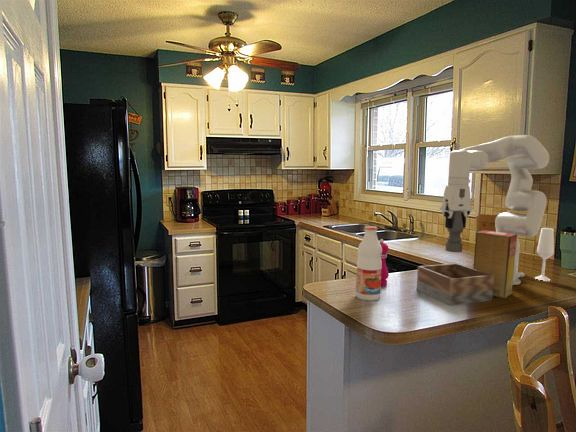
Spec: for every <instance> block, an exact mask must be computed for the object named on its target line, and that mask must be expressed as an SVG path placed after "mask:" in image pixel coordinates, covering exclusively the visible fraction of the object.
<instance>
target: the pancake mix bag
mask: <svg viewBox="0 0 576 432" xmlns="http://www.w3.org/2000/svg"><path fill="white" fill-rule="evenodd" d="M498 215H499V214H485V213H483V214H482V213H480V214H478V215H476V216H475V235H476V233H477V232H479V231H484V230H485V231H493V232H496V227H495V220H496V217H497V216H498Z"/></svg>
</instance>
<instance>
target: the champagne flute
mask: <svg viewBox="0 0 576 432" xmlns="http://www.w3.org/2000/svg"><path fill="white" fill-rule="evenodd" d="M540 228H541V229H540V234H539V238H538V244H537V247H536V253H537V254H538V256H539V257H540V258H541V259H542V265H541V274H540V275H537V276H535V277H534V278H535V279H534V280H536V279H538V280H537V281H540V280H543V281H542V282H551V281H550V280H551V279H550V278H548V276H546V275H545V274H546V273H545V272H546V262H547V259H549V258H551V257H552V256H553V255H554V254H555V243H554V242H555V240H554V239H555V232H554V231H555V229H554V228H552V227H551V228H550V227H540Z"/></svg>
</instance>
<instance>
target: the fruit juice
mask: <svg viewBox="0 0 576 432" xmlns="http://www.w3.org/2000/svg"><path fill="white" fill-rule="evenodd" d="M363 229H364V234H363V238H362V241H360V243H359V244H358V247H357V252H358V258H357V262H356V279H355V280H356V283H355V284H356V285H355V296H356V298H357V299H359V300H363V301H369V302H370V301H371V302H372V301H378V300H380V298H381V289H382V286H381V270H382V261H381V258H380V257H381V253H382V247H381V245H380V240H379V237H378V235H377V232H378V226H374V225H365V226H364V228H363Z"/></svg>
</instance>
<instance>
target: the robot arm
mask: <svg viewBox="0 0 576 432" xmlns="http://www.w3.org/2000/svg"><path fill="white" fill-rule="evenodd" d="M504 159H505V162H506V165H507V167H508V169H509V172H510V177H511V180H510V183H509V188H508V189H507V190H508V191H507V193H506V198H505V202H504V203H505V207H506V208H507V209H508V210H511V211H517V212H509V211H506V212H500V213H499V214H497V215H498V216H497V217H496V220H495V227H496V232H501V233H509V234H517V236H521V237H522V236H523V237H528V238H530V237H534V236H537V234H538V232H539V230H540V228H541V225H542V221H543V217H544V214H545V212H546V208H547V203H548V202H547V195H546V194H545V193H544V192H543V191H540V190H534V189H532V187H533V182H534V179H533V177H532V174H531V173H530V172H529V170H530V169H532V170H533V169H534V170H537V169H543V168H545V167H547V166H548V164H549V162H550V154H549V152H548V150H547V149H546V148H545V147H544V145H543V144H542V143H541V142H540V141H539V140H538V139H537V138H536V137H535V136H533V135H530V134H519V135H517V134H516V135H508V136H504V137H501V138H498V139H495V140H494V141H493V140H492V141H489V142H485V143H482V144H477V145H472V146H469V147H468V146H467V147H464V148H462V149H458V150H452V151H451V152H450V153H449V161H448V162H449V163H448V164H449V166H448V178H447V179H448V181H447V185H446V186H445V188H444V191H443V196H442V197H443V198H442V205H441V206H440V207H439V211H440V212H441V213H442V215H443V216H444V218H445V223H444V227H445V228H446V229H447V228H450V229H451V228H452V220H453V219H452V218H451V217H452V214H453V212H454V211H462V213H461V216H462V222H463V227H464V229H466V226H467V224H466V223H467V218H468V217H469V215H470V214H471V212H472V211H474V208H473V205H472V204H471V188H470V187H471V186H470V185H469V184H470V183H471V179H470V170H472V171H476V170H477V171H479V170H482V169H484V168H486V167H488V164H489V163H496V162H499V161H501V160H504ZM528 169H529V170H528ZM460 189H465V197H463V198H462V199H461V197H459V193H460ZM459 204H463V206H459ZM519 212H525V213H519ZM520 248H521V244H520V240H519V237H517V242H516V252H515V262H514V273H513V285H512V286H519V285H520V284H521V282H522V281H521V280H520V279H519V278H523V277H525V272H520V271H519V272H518V270H519V260H520V259H519V258H520Z"/></svg>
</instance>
